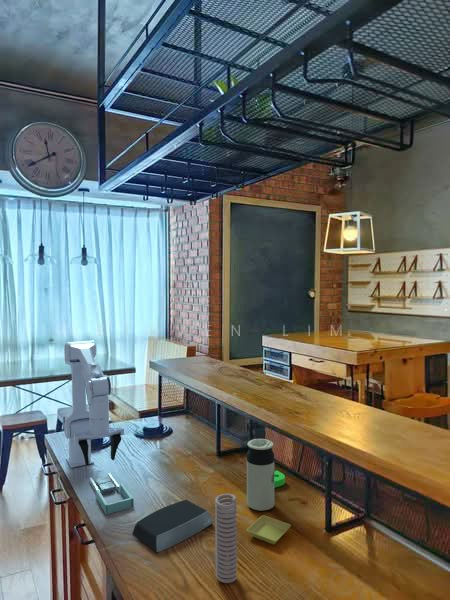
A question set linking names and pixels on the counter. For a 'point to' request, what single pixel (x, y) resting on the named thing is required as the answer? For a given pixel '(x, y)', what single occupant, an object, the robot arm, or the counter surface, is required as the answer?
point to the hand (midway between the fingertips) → (99, 461)
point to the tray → (118, 505)
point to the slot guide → (111, 481)
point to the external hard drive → (172, 525)
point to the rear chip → (102, 480)
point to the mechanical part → (278, 479)
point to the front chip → (106, 488)
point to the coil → (226, 538)
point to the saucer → (268, 529)
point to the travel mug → (260, 474)
